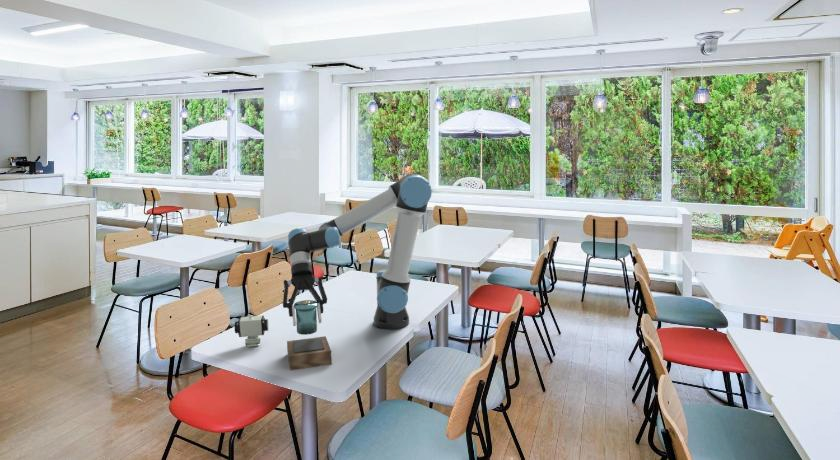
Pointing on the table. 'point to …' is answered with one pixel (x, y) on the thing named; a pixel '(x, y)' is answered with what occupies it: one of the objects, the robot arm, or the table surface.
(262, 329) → the pneumatic valve
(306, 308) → the teal glass jar
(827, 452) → the table surface
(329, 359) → the walnut stand
